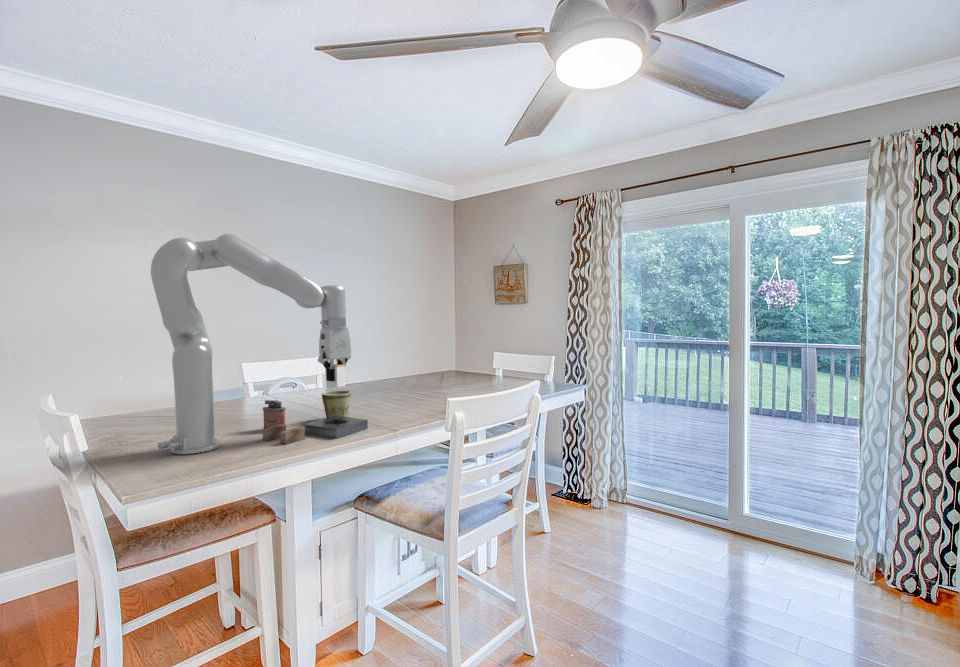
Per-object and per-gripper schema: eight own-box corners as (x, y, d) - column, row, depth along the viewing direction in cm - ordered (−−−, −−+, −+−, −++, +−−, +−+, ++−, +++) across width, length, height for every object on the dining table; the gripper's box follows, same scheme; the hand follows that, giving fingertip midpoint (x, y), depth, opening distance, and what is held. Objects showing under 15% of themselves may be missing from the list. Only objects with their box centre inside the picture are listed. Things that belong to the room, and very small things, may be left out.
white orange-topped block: (337, 387, 154) (336, 365, 154) (326, 386, 156) (325, 365, 156) (345, 385, 157) (344, 364, 157) (334, 385, 160) (333, 364, 159)
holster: (285, 444, 142) (285, 432, 142) (262, 440, 147) (262, 429, 147) (304, 438, 148) (304, 427, 148) (282, 435, 153) (281, 424, 153)
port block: (336, 438, 148) (336, 429, 148) (304, 433, 155) (304, 424, 155) (367, 428, 160) (367, 419, 160) (336, 424, 167) (336, 415, 167)
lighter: (288, 429, 161) (287, 399, 160) (281, 431, 157) (280, 401, 157) (268, 428, 163) (267, 398, 162) (261, 430, 160) (259, 400, 159)
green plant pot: (344, 423, 167) (343, 395, 167) (317, 423, 169) (316, 395, 169) (359, 415, 180) (358, 389, 180) (334, 415, 182) (333, 388, 181)
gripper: (322, 324, 147) (324, 384, 148) (360, 323, 161) (361, 377, 162) (305, 324, 150) (307, 383, 151) (343, 322, 165) (345, 376, 166)
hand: (335, 379), depth 157 cm, fingers closed on white orange-topped block, 3 cm apart
